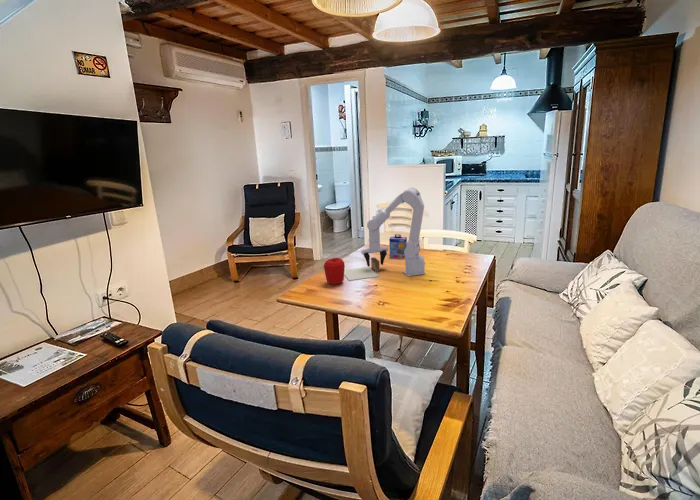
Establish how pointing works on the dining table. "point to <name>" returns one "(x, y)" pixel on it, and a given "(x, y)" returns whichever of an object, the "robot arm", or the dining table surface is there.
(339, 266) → the apple
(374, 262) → the tile
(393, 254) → the ink cartridge box
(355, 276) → the mat
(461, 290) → the dining table surface
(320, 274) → the dining table surface
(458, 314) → the dining table surface
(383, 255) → the robot arm
